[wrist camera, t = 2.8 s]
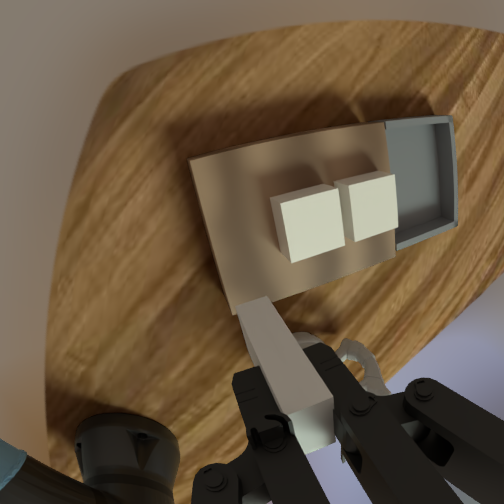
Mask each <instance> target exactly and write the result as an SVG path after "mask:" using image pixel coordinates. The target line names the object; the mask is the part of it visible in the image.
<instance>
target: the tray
mask: <svg viewBox="0 0 504 504" xmlns="http://www.w3.org/2000/svg"><path fill="white" fill-rule="evenodd" d="M368 122H384V127H385V133H386V140H387V148H388V156H389V165H390V173H391V174H395V184H396V196H397V211H398V227H397V228H395V250H396V251H398V250H400V249H403V248H405V247H408V246H410V245H413V244H415V243H418V242H420V241H423V240H425V239H428V238H430V237H432V236H435V235H437V234H440V233H442V232H445V231H447V230H449V229H452V228H454V227H456V226H458V180H457V160H456V147H455V136H454V126H453V118H452V116H451V115H428V116H415V117H404V118H394V119H385V120H376V121H368Z"/></svg>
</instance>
